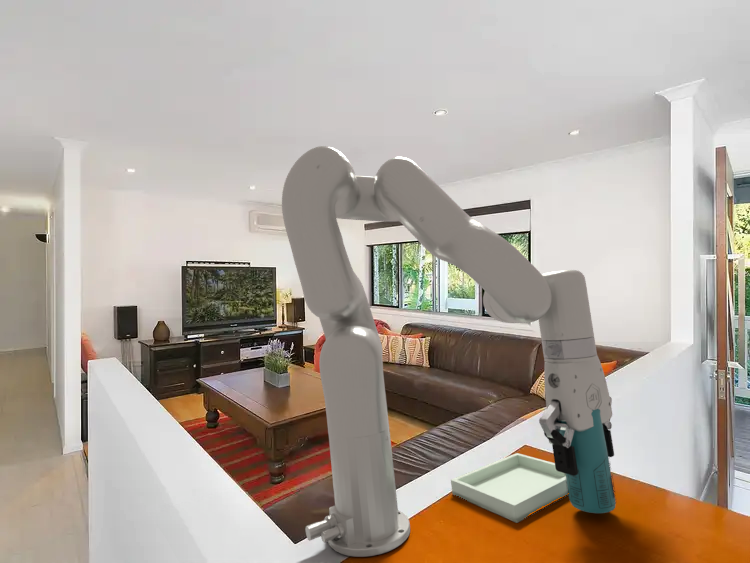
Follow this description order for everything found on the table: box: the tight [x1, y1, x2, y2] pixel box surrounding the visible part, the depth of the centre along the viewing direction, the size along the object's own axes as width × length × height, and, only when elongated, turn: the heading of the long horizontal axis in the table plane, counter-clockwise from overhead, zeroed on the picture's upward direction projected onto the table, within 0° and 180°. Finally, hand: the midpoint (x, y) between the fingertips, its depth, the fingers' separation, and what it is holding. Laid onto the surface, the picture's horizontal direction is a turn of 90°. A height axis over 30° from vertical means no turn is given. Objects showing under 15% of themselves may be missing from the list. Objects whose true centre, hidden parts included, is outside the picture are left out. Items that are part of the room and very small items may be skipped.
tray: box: [450, 452, 568, 524], centre depth 71 cm, size 18×14×2 cm
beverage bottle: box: [560, 409, 617, 514], centre depth 62 cm, size 6×7×20 cm
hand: (585, 463), depth 61 cm, fingers open, 9 cm apart
